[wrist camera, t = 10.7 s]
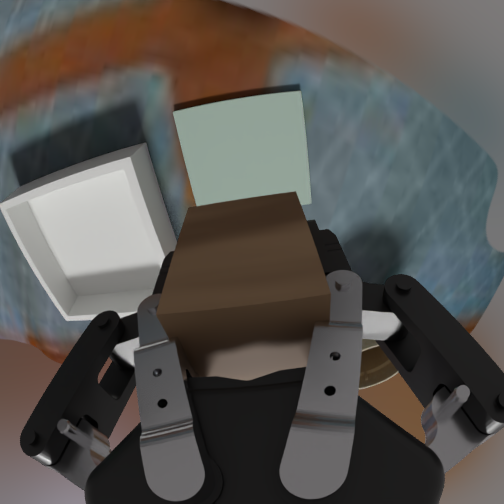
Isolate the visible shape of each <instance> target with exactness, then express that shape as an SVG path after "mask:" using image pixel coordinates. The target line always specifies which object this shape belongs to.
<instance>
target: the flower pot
mask: <svg viewBox="0 0 504 504" xmlns="http://www.w3.org/2000/svg"><path fill="white" fill-rule="evenodd" d="M397 373H398V371H397V369H396V368H395V366H394V365H393V364H392V362H391V361H390V360H389V358H388V357H387V356H386V354H385V353H384V352H383V350H382V349H381V348H380V346H379V345H378V344H377V342H376V341H375V340H372V339H362V354H361V368H360V380H359V389H364V388H368V387H371V386H374V385H377V384H379V383H382V382H384V381H385V380H388V379H389V378H391V377H393V376H394V375H396V374H397Z"/></svg>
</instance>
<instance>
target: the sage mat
mask: <svg viewBox="0 0 504 504" xmlns="http://www.w3.org/2000/svg"><path fill="white" fill-rule="evenodd" d="M173 115H174V119H175V123H176V127H177V131H178V135H179V140H180V144H181V148H182V152H183V156H184V160H185V164H186V167H187V171H188V175H189V179H190V183H191V187H192V190H193V194H194V198H195V202H196V205H197V206H201V205H207V204H213V203H219V202H225V201H231V200H238V199H244V198H251V197H258V196H265V195H272V194H279V193H286V192H294V191H296V193H297V196H298V198H299V201H300V204H301V205H305V204H311V190H310V176H309V163H308V152H307V141H306V131H305V121H304V112H303V104H302V95H301V91H300V90H299V91H288V92H279V93H270V94H263V95H255V96H248V97H242V98H236V99H230V100H224V101H219V102H214V103H208V104H204V105H199V106H194V107H190V108H185V109H181V110H177V111H174V112H173Z"/></svg>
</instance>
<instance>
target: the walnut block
mask: <svg viewBox="0 0 504 504" xmlns="http://www.w3.org/2000/svg"><path fill="white" fill-rule="evenodd" d="M330 305H331V292H330V289H329V286H328V283H327V280H326V277H325V273H324V270H323V267H322V264H321V261H320V258H319V255H318V252H317V249H316V246H315V243H314V240H313V238H312V235H311V232H310V229H309V226H308V223H307V220H306V218H305V215H304V212H303V209H302V207H301V204H300V201H299V198H298V196H297V193H296V191H294V192H286V193H279V194H272V195H265V196H258V197H251V198H244V199H238V200H231V201H225V202H219V203H213V204H207V205H201V206H195V207H190V208H188V211H187V214H186V217H185V220H184V223H183V226H182V229H181V232H180V235H179V238H178V241H177V244H176V247H175V251H174V254H173V257H172V260H171V264H170V267H169V270H168V274H167V277H166V280H165V284H164V287H163V291H162V294H161V298H160V301H159V305H158V309H157V312H156V316H157V318H158V320H159V322H160V323H161V325H162V327H163V329H164V331H165V332H166V334H167V336H168V338H172V337H178V338H179V340H180V342H181V344H182V346H183V348H184V351H185V353H186V356H187V358H188V359H189V361H190V363H191V365H192V366H193V368H194V370H195V372H196V373H198V374H199V376H200V377H210V376H219V377H225V378H231V379H238V380H246V381H247V380H252V379H255V378H258V377H261V376H264V375H267V374H270V373H273V372H276V371H279V370H286V369H294V368H301V367H306V366H307V361H308V356H309V351H310V346H311V341H312V336H313V331H314V325H315V322H316V321H325V320H330Z"/></svg>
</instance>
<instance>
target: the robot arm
mask: <svg viewBox="0 0 504 504" xmlns="http://www.w3.org/2000/svg"><path fill="white" fill-rule="evenodd" d="M307 223H308V226H309V229H310V232H311V235H312V238H313V240H314V243H315V246H316V249H317V252H318V255H319V258H320V261H321V264H322V267H323V270H324V273H325V277H326V280H327V283H328V286H329V289H330V292H331V305H330V320H325V321H316V322H315V325H314V331H313V336H312V341H311V346H310V351H309V356H308V361H307V366H306V367H301V368H294V369H286V370H279V371H276V372H273V373H270V374H267V375H264V376H261V377H258V378H255V379H252V380H247V381H246V380H238V379H231V378H225V377H219V376H210V377H200V376H199V374H198V373H196V372H195V370H194V368H193V366H192V365H191V363H190V361H189V359H188V358H187V356H186V353H185V351H184V348H183V346H182V344H181V342H180V340H179V338H178V337H172V338H168V336H167V334H166V332H165V331H164V329H163V327H162V325H161V323H160V322H159V320H158V318H157V316H156V312H157V309H158V305H159V301H160V298H161V294H162V291H163V287H164V284H165V280H166V277H167V274H168V270H169V267H170V264H171V260H172V257H173V254H174V251H170V252H169V254H168V255H167V256H166V257H165V258H164V260H163V263H162V266H161V269H160V272H159V275H158V278H157V281H156V284H155V287H154V290H153V293H152V295H151V296H149V297H147V298H145V299H144V300H143V301H142V302H141V303H140V305H139V306H138V309H137V312H136V313H134V314H131V315H128V316H125V317H122V318H120V317H119V315H118V314H117V312H115V311H111V310H108V311H104V312H102V313H100V314H98V315H97V316H96V317H95V318H94V319H93V320H92V321H91V323H90V324H89V325H88V327H87V328H86V330H85V331H84V333H83V334H82V335H81V337H80V338H79V340H78V341H77V343H76V344H75V346H74V347H73V349H72V350H71V352H70V353H69V355H68V356H67V358H66V359H65V361H64V362H63V364H62V365H61V367H60V368H59V370H58V371H57V373H56V375H55V376H54V378H53V379H52V381H51V383H50V384H49V386H48V387H47V389H46V391H45V392H44V394H43V396H42V397H41V399H40V401H39V402H38V404H37V406H36V407H35V409H34V411H33V413H32V414H31V416H30V418H29V420H28V421H27V423H26V425H25V427H24V429H23V430H22V433H21V436H20V445H21V448H22V450H23V452H24V453H25V454H26V455H28V456H30V457H32V458H33V459H35V460H37V461H39V462H40V463H41V464H42V465H44V466H46V467H48V468H50V469H52V470H54V471H56V472H58V473H60V474H61V475H63V476H64V477H65V478H67V479H68V480H70V481H71V482H72V483H74V484H75V485H77V486H78V487H80V488H81V489H82V490H84V491H85V501H86V504H439V500H440V497H441V495H442V491H443V488H444V481H445V473H446V472H447V471H448V470H450V469H451V468H452V467H453V466H455V465H456V464H457V463H458V462H459V461H461V460H462V459H463V458H464V457H465V456H466V455H468V454H469V453H470V452H471V451H472V450H473V449H475V448H476V447H478V446H479V445H481V444H482V443H483V442H485V441H486V440H488V439H489V438H490V437H491V436H493V435H494V434H496V433H497V432H498V431H499V430H501V429H502V428H503V427H504V373H503V372H502V370H501V369H500V368H499V367H498V366H497V364H496V363H495V362H494V361H493V360H492V359H491V358H490V356H489V355H488V354H487V353H486V352H485V351H484V349H483V348H482V347H481V346H480V345H479V344H478V343H477V342H476V340H475V339H474V338H473V337H472V336H471V335H470V334H469V333H468V332H467V331H466V330H465V329H464V327H463V326H462V325H461V324H460V323H459V322H458V321H457V320H456V319H455V318H454V317H453V316H452V315H451V314H450V313H449V312H448V311H447V310H446V309H445V308H444V307H443V306H442V305H441V304H440V303H439V302H438V301H437V300H436V299H435V298H434V297H433V296H432V295H431V294H430V293H429V292H428V291H427V290H426V289H425V288H424V287H423V286H422V285H421V284H420V283H419V282H418V281H417V280H416V279H414V278H413V277H411V276H408V275H403V274H398V275H393V276H391V277H389V278H388V279H387V280H386V282H385V285H380V284H369V283H366V282H363V281H362V280H361V278H360V277H359V276H358V275H357V274H356V273H354V272H352V271H351V268H350V266H349V264H348V261H347V259H346V257H345V255H344V252H343V250H342V248H341V246H340V244H339V241H338V239H337V237H336V235H335V234H334V233H332V232H331V231H330V230H328V229H326V230H319V229H318V226H317V224H316V221H315V220H308V221H307ZM362 339H372V340H375V341H376V342H377V344H378V345H379V346H380V348H381V349H382V350H383V352H384V353H385V354H386V356H387V357H388V358H389V360H390V361H391V362H392V364H393V365H394V366H395V368H396V369H397V371H398V372H399V373H400V375H401V376H402V377H403V379H404V380H405V381H406V383H407V384H408V385H409V387H410V388H411V390H412V391H413V392H414V394H415V395H416V397H417V398H418V399H419V401H420V402H421V403H422V405H423V407H424V408H425V409H424V411H423V412H422V416H421V423H422V427H423V429H424V431H425V435H426V442H425V444H423V443H422V442H420V441H419V440H418V439H416V438H415V437H413V436H412V435H411V434H409V433H408V432H406V431H405V430H404V429H403V428H401V427H400V426H398V425H397V424H396V423H394V422H393V421H391V420H390V419H389V418H387V417H386V416H385V415H383V414H382V413H381V412H379V411H378V410H377V409H376V408H374V407H373V406H371V405H370V404H369V403H368V402H366V401H365V400H364V399H362V398H361V397H360V396H358V390H359V380H360V368H361V354H362ZM108 357H110V359H111V360H112V363H111V364H110V366H109V368H108V369H107V371H106V373H105V374H104V376H103V378H102V380H101V381H100V383H99V384H98V374H99V372H100V371H101V369H102V367H103V366H104V364H105V362H106V361H107V359H108ZM135 386H136V388H137V397H138V405H139V412H140V420H141V422H140V423H139V424H138V425H137V426H136V427H135V428H134V429H133V430H132V431H131V432H130V433H129V434H128V435H127V436H126V437H125V438H124V440H122V442H120V444H119V445H118V446H117V447H116V448H115V449H114V450H113V451H111V449H110V444H109V440H108V439H109V437H110V435H111V433H112V431H113V429H114V427H115V425H116V423H117V421H118V419H119V417H120V415H121V413H122V411H123V409H124V407H125V406H126V404H127V402H128V400H129V398H130V396H131V394H132V392H133V390H134V388H135Z"/></svg>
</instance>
